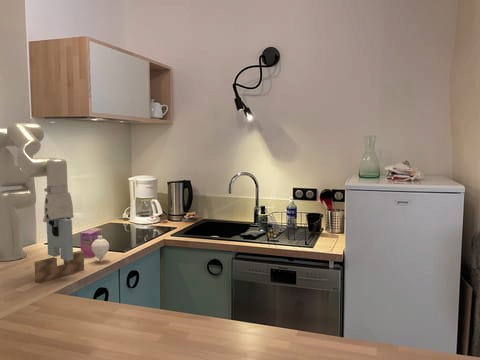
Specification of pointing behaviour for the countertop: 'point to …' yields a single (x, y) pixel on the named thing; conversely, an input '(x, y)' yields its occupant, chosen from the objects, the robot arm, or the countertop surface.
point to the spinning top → (100, 247)
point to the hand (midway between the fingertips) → (59, 234)
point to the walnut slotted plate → (58, 267)
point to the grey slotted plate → (61, 240)
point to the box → (89, 241)
